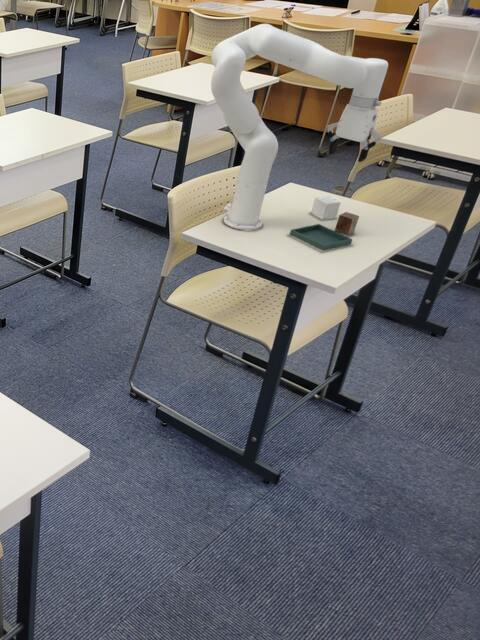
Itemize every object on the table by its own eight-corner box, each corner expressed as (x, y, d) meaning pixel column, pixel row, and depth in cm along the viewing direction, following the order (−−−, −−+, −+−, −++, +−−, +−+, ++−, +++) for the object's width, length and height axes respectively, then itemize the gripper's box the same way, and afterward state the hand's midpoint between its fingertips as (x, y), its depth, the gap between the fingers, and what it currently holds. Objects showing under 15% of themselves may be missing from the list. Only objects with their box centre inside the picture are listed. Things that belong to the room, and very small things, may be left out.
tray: (288, 235, 231) (290, 229, 229) (316, 229, 235) (318, 223, 234) (321, 252, 220) (323, 245, 219) (350, 245, 225) (352, 239, 224)
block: (333, 233, 234) (339, 214, 230) (340, 229, 236) (345, 211, 233) (346, 237, 231) (352, 219, 227) (353, 234, 233) (359, 215, 230)
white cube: (310, 213, 248) (314, 197, 244) (324, 212, 249) (328, 196, 246) (321, 220, 243) (326, 203, 240) (335, 218, 245) (340, 202, 241)
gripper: (396, 106, 211) (378, 161, 221) (341, 95, 222) (326, 148, 231) (385, 109, 207) (367, 166, 216) (330, 98, 217) (315, 152, 227)
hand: (346, 157), depth 224 cm, fingers open, 9 cm apart
